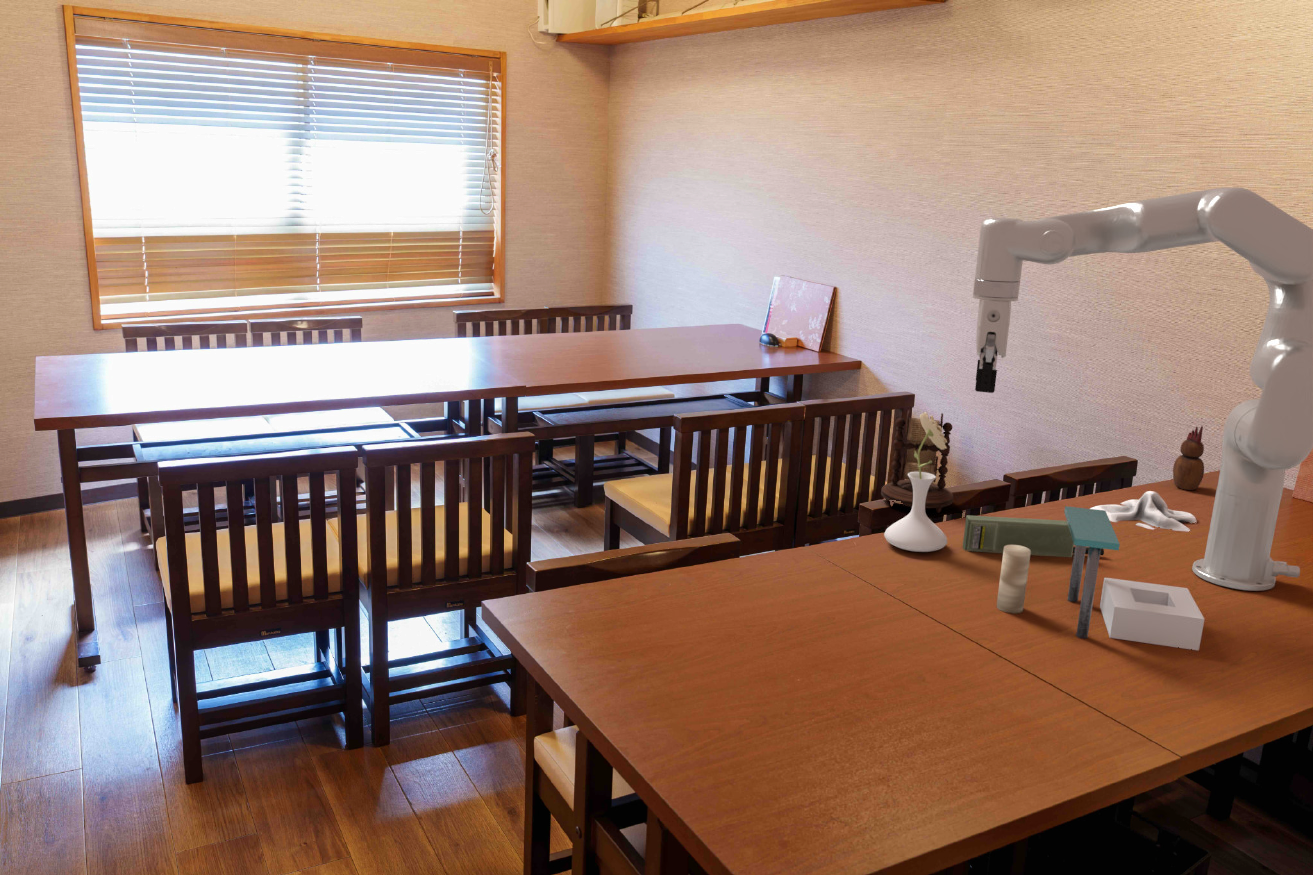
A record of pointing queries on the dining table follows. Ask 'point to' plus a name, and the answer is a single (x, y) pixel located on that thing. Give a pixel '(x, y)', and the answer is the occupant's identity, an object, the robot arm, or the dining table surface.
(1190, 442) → the wooden figurine
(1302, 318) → the robot arm
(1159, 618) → the socket block
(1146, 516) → the cloth
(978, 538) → the handheld radio
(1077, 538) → the small teal stool
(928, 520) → the flower in vase
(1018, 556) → the peg
